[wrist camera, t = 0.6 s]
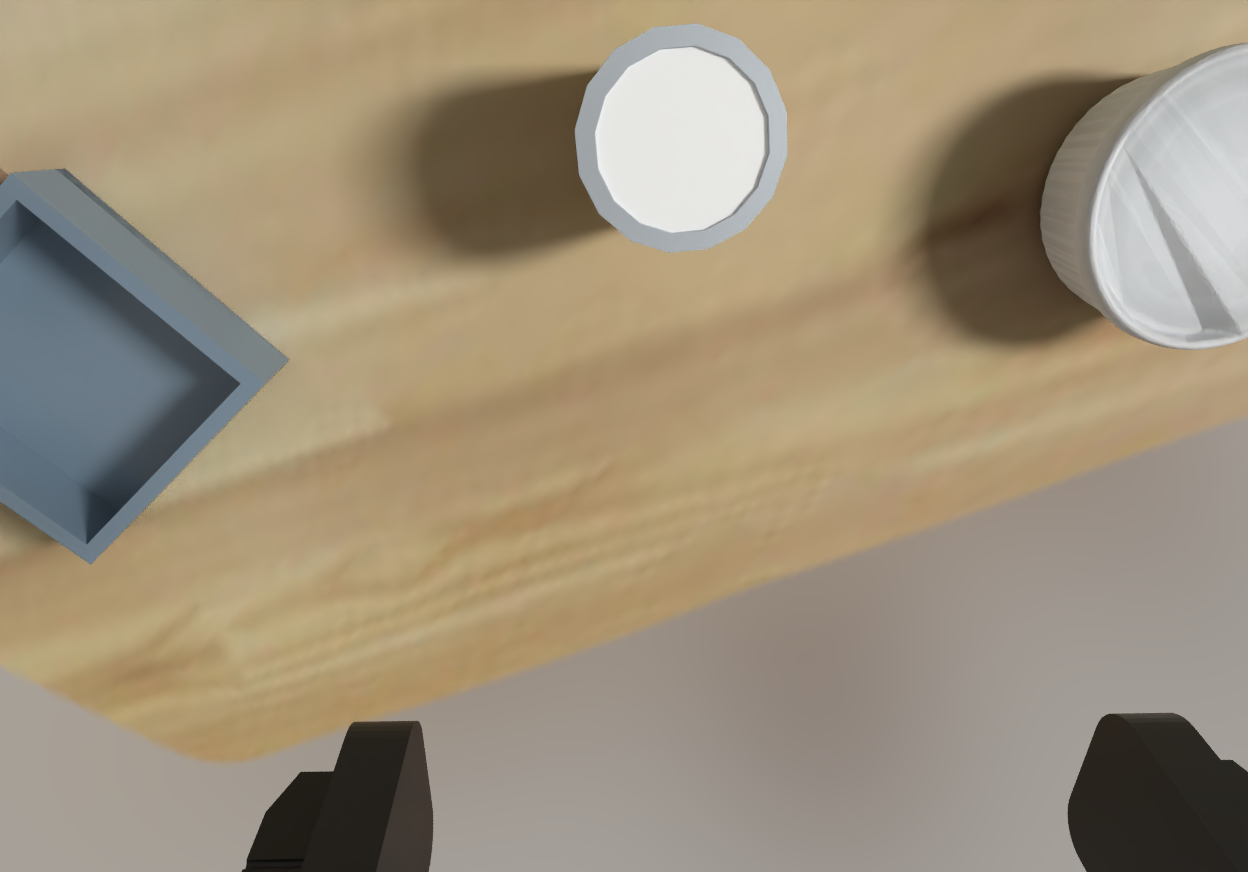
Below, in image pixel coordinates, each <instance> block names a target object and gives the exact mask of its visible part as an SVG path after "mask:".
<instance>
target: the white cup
mask: <svg viewBox="0 0 1248 872" xmlns="http://www.w3.org/2000/svg"><path fill="white" fill-rule="evenodd" d="M575 139H576V149H577V159H578V170H579V176H580V178H581V180H582V182H583V184H584V186H585V188H586V190H587V192H588V193H589V195H590V197H591V199H592V201H593V203H594V205H595V207H596V209H597V211H598V213H599V214H600V215H601V216H602V217H603V218H604V219H606V220H607V221H608V222H609V223H610V224H611V225H613V226H614V227H615V228H616V229H617V230H619V231H620V232H621V233H622V234H623V235H624V236H626V237H627V238H628V239H629V240H630V241H633V242H636V243H639V244H642V245H646V246H649V247H652V248H655V249H658V250H662V251H665V252H668V253H672V252H682V251H691V250H701V249H709V248H711V247H713V246H715V245H717V244H719V243H721V242H722V241H724V240H726V239H728V238H730V237H732V236H733V235H735V234H737V233H739V232H741V231H743V230H745V229H746V228H747V226H748V225H749V224H750V223H751V222H752V220H753V219H754V218H755V217H756V216H757V215H758V213H759V212H760V211H761V210H762V209H763V207H764V206H765V205H766V204H767V203H768V202H769V200H770V199H771V198H772V197H773V194H774V191H775V189H776V186H777V183H778V180H779V177H780V174H781V172H782V169H783V166H784V163H785V160H786V157H787V111H786V108H785V106H784V104H783V101H782V99H781V96H780V94H779V91H778V89H777V86H776V84H775V82H774V79H773V77H772V74H771V72H770V70H769V69H768V68H767V67H766V66H765V65H764V64H763V63H762V62H761V61H760V60H759V59H758V58H757V57H756V56H755V55H754V54H753V53H752V52H751V51H750V50H749V49H748V48H747V47H746V46H745V45H744V44H743V43H742V42H741V41H740V40H739V39H738V38H735V37H733V36H730V35H727V34H725V33H722V32H719V31H717V30H714V29H711V28H709V27H706V26H703V25H701V24H686V25H674V26H662V27H654V28H652V29H650V30H648V31H646V32H645V33H643V34H641V35H639V36H637V37H636V38H634V39H632V40H630V41H629V42H627V43H625V44H623V45H621V46H620V47H618V48H616V49H615V50H614V51H613V52H612V54H611V55H610V56H609V58H608V59H607V60H606V62H605V63H604V64H603V65H602V67H601V68H600V69H599V71H598V72H597V73H596V75H595V76H594V77H593V78H592V80H591V81H590V82H589V84H588V85H587V88H586V91H585V95H584V98H583V102H582V105H581V109H580V113H579V116H578V120H577V123H576V127H575Z"/></svg>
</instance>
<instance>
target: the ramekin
mask: <svg viewBox="0 0 1248 872" xmlns="http://www.w3.org/2000/svg"><path fill="white" fill-rule="evenodd" d="M1040 217H1041V222H1040V228H1041V232H1042V241H1043V244H1044V246H1045V251H1046V255H1047V257H1048V259H1049V261H1050V263H1051V265H1052V267H1053V269H1054V270H1055V272H1056V273H1057V275H1058V277H1059V279H1060V280H1061V281H1062V282H1063V283H1065V284H1066V286H1067V287H1068V289H1069V290H1071V291H1072V292H1073V293H1075V294H1076V295H1078V296H1079V297H1080V298H1081V299H1082V300H1084V301H1085V302H1087V303H1088V304H1090V305H1091V306H1093V307H1094V308H1096V309H1098V310H1099V311H1100V312H1101V313H1102V315H1103V316H1104V317H1105V318H1107V319H1108V320H1109V321H1110V322H1111V323H1112V324H1114V325H1115V326H1116V327H1117V328H1119V329H1120V330H1122V331H1124V332H1125V333H1127V334H1129V335H1131V336H1133V337H1136V338H1138V339H1141V340H1143V341H1146V342H1148V343H1151V344H1154V345H1158V346H1162V347H1167V348H1173V349H1183V350H1201V349H1209V348H1215V347H1220V346H1224V345H1228V344H1231V343H1234V342H1237V341H1240V340H1243V339H1245V338H1248V43H1241V44H1234V45H1229V46H1224V47H1220V48H1217V49H1214V50H1210V51H1208V52H1205V53H1202V54H1200V55H1197V56H1195V57H1193V58H1191V59H1189V60H1187V61H1185V62H1183V63H1181V64H1179V65H1177V66H1174V67H1171V68H1167V69H1164V70H1161V71H1158V72H1155V73H1152V74H1149V75H1146V76H1143V77H1140V78H1137V79H1135V80H1133V81H1132V82H1130V83H1127V84H1125V85H1123V86H1121V87H1119V88H1117V89H1116V90H1115V91H1113V92H1112V93H1111V94H1109V95H1107V96H1105V97H1104V98H1102V99H1101V100H1100V101H1099V102H1098V103H1097V104H1096V105H1095V106H1093V107H1092V108H1091V109H1090V110H1089V111H1088V112H1087V113H1086V114H1085V115H1084V117H1083V118H1082V119H1080V120H1079V121H1078V122H1077V123H1076V125H1075V126H1074V128H1073V129H1072V131H1071V132H1070V133H1069V134H1068V136H1067V137H1066V138H1065V140H1064V142H1063V144H1062V146H1061V147H1060V149H1059V150H1058V152H1057V154H1056V157H1055V159H1054V161H1053V163H1052V165H1051V168H1050V171H1049V174H1048V176H1047V179H1046V182H1045V189H1044V192H1043V195H1042V206H1041V210H1040Z"/></svg>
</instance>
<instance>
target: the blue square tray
mask: <svg viewBox="0 0 1248 872" xmlns="http://www.w3.org/2000/svg"><path fill="white" fill-rule="evenodd" d="M0 278H1V280H0V502H1V503H2V504H4V505H5V506H7V507H8V508H10V509H11V510H13V511H14V512H15V513H17V514H18V515H20V516H21V517H23V518H24V519H26V520H27V521H28V522H30V523H31V524H33V525H34V526H36V527H37V528H39V529H40V530H42V531H43V532H44V533H46V534H47V535H49V536H50V537H52V538H53V539H55V540H56V541H57V542H59V543H60V544H62V545H63V546H65V547H66V548H68V549H69V550H70V551H72V552H73V553H75V554H76V555H78V556H79V557H81V558H82V559H84V560H85V561H86V562H88V563H89V564H92V563H93V562H94V561H95V560H96V559H97V558H98V557H99V556H100V555H101V554H102V553H103V552H104V551H105V550H106V549H107V548H108V547H109V546H110V545H111V544H112V543H113V542H114V541H115V540H116V539H117V538H118V537H119V536H120V535H121V534H122V533H123V532H124V531H125V530H126V529H127V528H128V527H129V526H130V525H131V524H132V523H133V521H134V520H135V519H136V518H137V517H138V516H139V515H140V514H141V513H142V512H143V511H144V510H145V509H146V508H147V507H148V506H149V505H150V504H151V503H152V502H153V501H154V500H155V499H156V498H157V497H158V496H159V494H160V493H161V492H162V491H163V490H164V489H165V488H166V487H167V486H168V485H169V484H170V483H171V482H172V481H173V480H174V479H175V478H176V477H177V476H178V475H179V474H180V473H181V472H182V471H183V470H184V469H185V467H186V466H187V465H188V464H189V463H190V462H191V461H192V460H193V459H194V458H195V457H196V456H197V455H198V454H199V453H200V452H201V451H202V450H203V449H204V448H205V447H206V446H207V445H208V444H209V443H210V442H211V440H212V439H213V438H214V437H215V436H216V435H217V434H218V433H219V432H220V431H221V430H222V429H223V428H224V427H225V426H226V425H227V424H228V423H229V422H230V421H231V420H232V419H233V418H234V417H235V416H236V414H237V413H238V412H239V411H240V410H241V409H242V408H243V407H244V406H245V405H246V404H247V403H248V402H249V401H250V400H251V399H252V398H253V397H254V396H255V395H256V394H257V393H258V392H259V391H260V390H261V389H262V387H263V386H264V385H265V384H266V383H267V382H268V381H269V380H270V379H271V378H272V377H273V376H274V375H275V374H276V373H277V372H278V371H279V370H280V369H281V368H282V367H283V366H284V365H285V364H286V363H287V362H288V360H289V359H288V358H287V357H286V356H284V355H283V354H282V353H281V352H280V351H278V350H277V349H276V348H275V347H274V346H273V345H271V344H270V343H269V342H268V341H267V340H266V339H264V338H263V337H262V336H261V335H260V334H259V333H257V332H256V331H255V330H254V329H253V328H251V327H250V326H249V325H248V324H247V323H246V322H244V321H243V320H242V319H241V318H240V317H239V316H237V315H236V314H235V313H234V312H233V311H231V310H230V309H229V308H228V307H227V306H226V305H224V304H223V303H222V302H221V301H220V300H219V299H217V298H216V297H215V296H214V295H213V294H211V293H210V292H209V291H208V290H207V289H206V288H204V287H203V286H202V285H201V284H200V283H199V282H197V281H196V280H195V279H194V278H193V277H191V276H190V275H189V274H188V273H187V272H186V271H184V270H183V269H182V268H181V267H180V266H179V265H177V264H176V263H175V262H174V261H173V260H172V259H170V258H169V257H168V256H167V255H166V254H164V253H163V252H162V251H161V250H160V249H159V248H157V247H156V246H155V245H154V244H153V243H152V242H150V241H149V240H148V239H147V238H146V237H144V236H143V235H142V234H141V233H140V232H139V231H137V230H136V229H135V228H134V227H133V226H132V225H130V224H129V223H128V222H127V221H126V220H124V219H123V218H122V217H121V216H120V215H119V214H117V213H116V212H115V211H114V210H113V209H112V208H110V207H109V206H108V205H107V204H106V203H104V202H103V201H102V200H101V199H100V198H99V197H97V196H96V195H95V194H94V193H93V192H92V191H90V190H89V189H88V188H87V187H86V186H85V185H83V184H82V183H81V182H80V181H79V180H77V179H76V178H75V177H74V176H73V175H72V174H70V173H69V172H68V171H67V170H66V169H55V170H42V171H29V172H15V173H10V175H9V176H8V177H7V178H6V179H5V181H4V182H3V183H2V184H1V185H0Z"/></svg>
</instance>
